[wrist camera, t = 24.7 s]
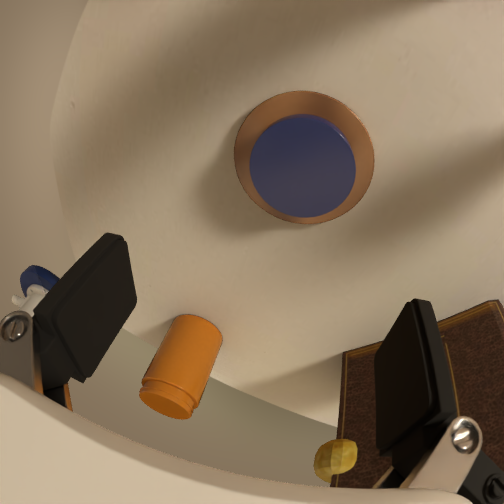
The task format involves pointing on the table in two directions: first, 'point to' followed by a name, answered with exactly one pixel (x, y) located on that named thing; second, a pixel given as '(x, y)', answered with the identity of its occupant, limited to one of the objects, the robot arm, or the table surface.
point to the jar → (181, 367)
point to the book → (464, 386)
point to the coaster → (313, 106)
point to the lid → (303, 166)
